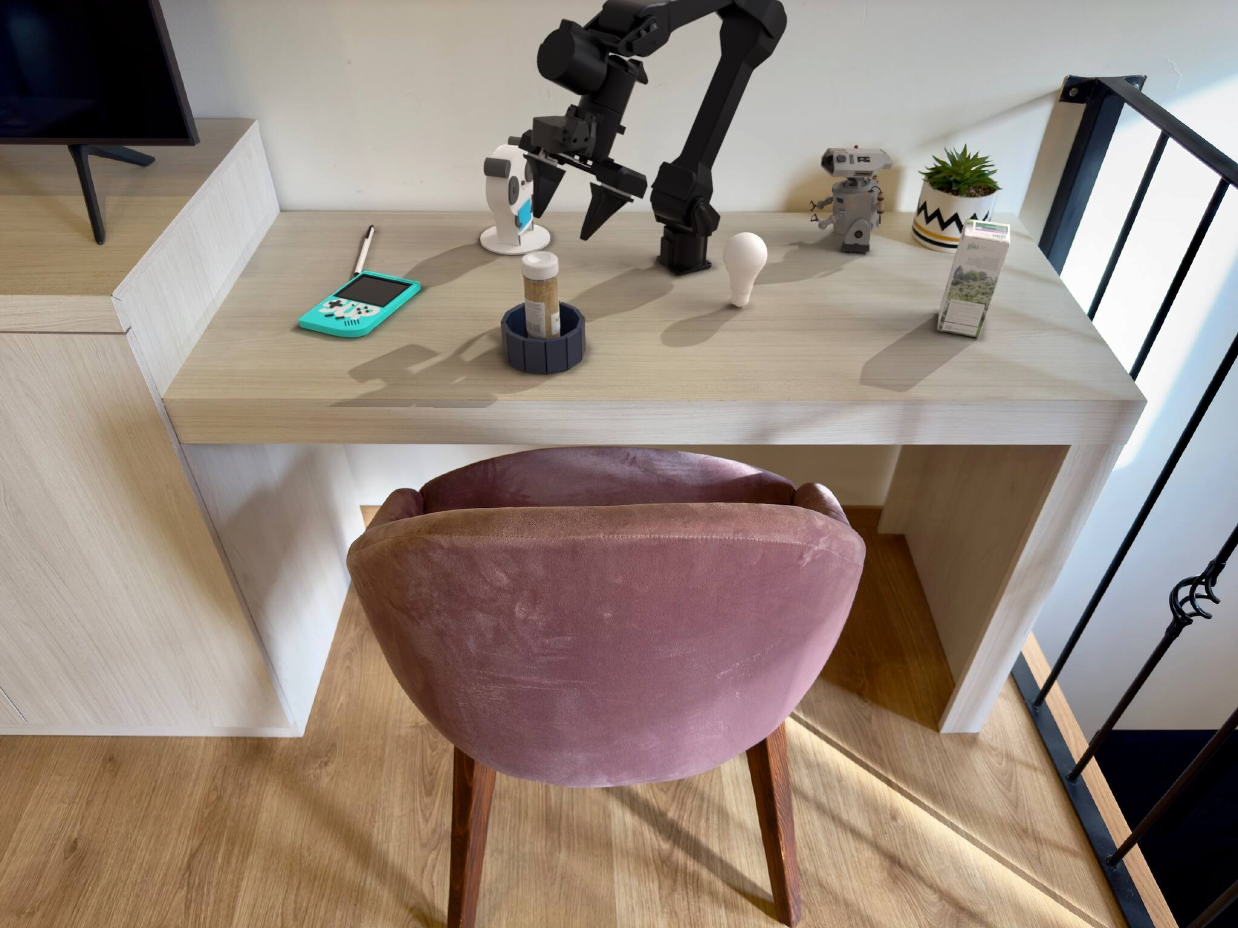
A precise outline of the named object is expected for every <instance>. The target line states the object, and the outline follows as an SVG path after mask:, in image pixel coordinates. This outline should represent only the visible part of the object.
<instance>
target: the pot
mask: <svg viewBox="0 0 1238 928" xmlns="http://www.w3.org/2000/svg"><path fill="white" fill-rule="evenodd" d="M559 317H560V337H556V338H551V339H546V340H541V339H530V338H528V332H527V325H526V312H525V302H522V303H519V304H516V305H515V306H513V307H511V308H510V309H508V310H506V311H504V314H503V316H502V318H501V320H500V328H501V329H500V330H501V331H500V332H501V343H502V353H503V356H504V359H505V361H506V362H507V364H508V365H509V366H511V367H513V368H515V369H516V370H519V371H521V372H523V373H527V374H537V375H538V374H539V375H551V374H557V373H561V372H566V371H567V370H570V369H572V368H573V367H575V366H577V365H578V364H580V363H581V362H582V361H583V359H584V356H585V353H586V318H585V316H584V315H583V313H582V312H581V310H580V309H579V308H578V307H576V306H574V305H571V304H569V303H567V302H564V301H560V300H559Z"/></svg>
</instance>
